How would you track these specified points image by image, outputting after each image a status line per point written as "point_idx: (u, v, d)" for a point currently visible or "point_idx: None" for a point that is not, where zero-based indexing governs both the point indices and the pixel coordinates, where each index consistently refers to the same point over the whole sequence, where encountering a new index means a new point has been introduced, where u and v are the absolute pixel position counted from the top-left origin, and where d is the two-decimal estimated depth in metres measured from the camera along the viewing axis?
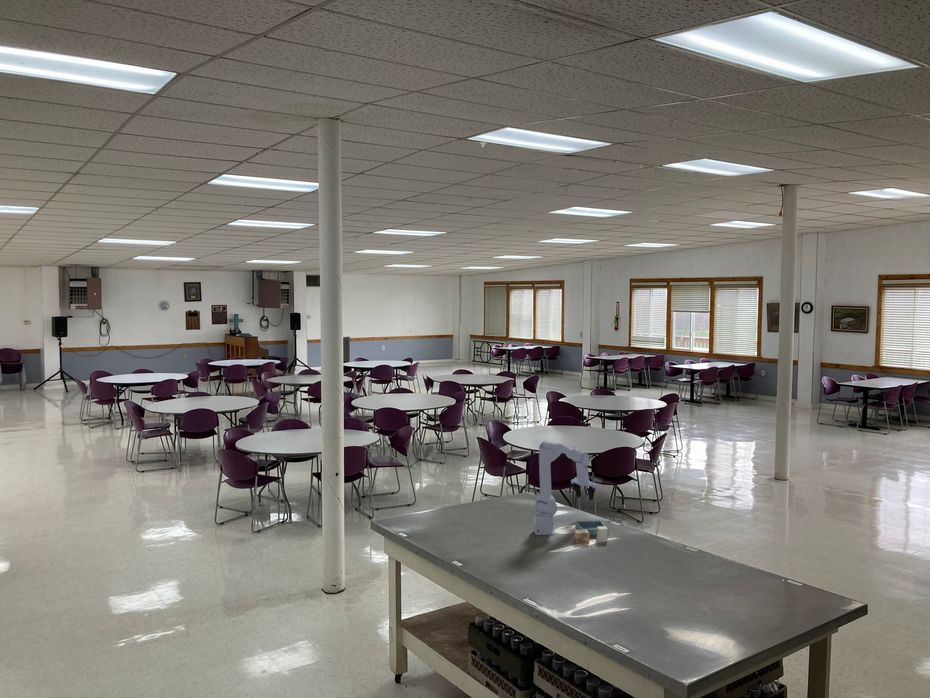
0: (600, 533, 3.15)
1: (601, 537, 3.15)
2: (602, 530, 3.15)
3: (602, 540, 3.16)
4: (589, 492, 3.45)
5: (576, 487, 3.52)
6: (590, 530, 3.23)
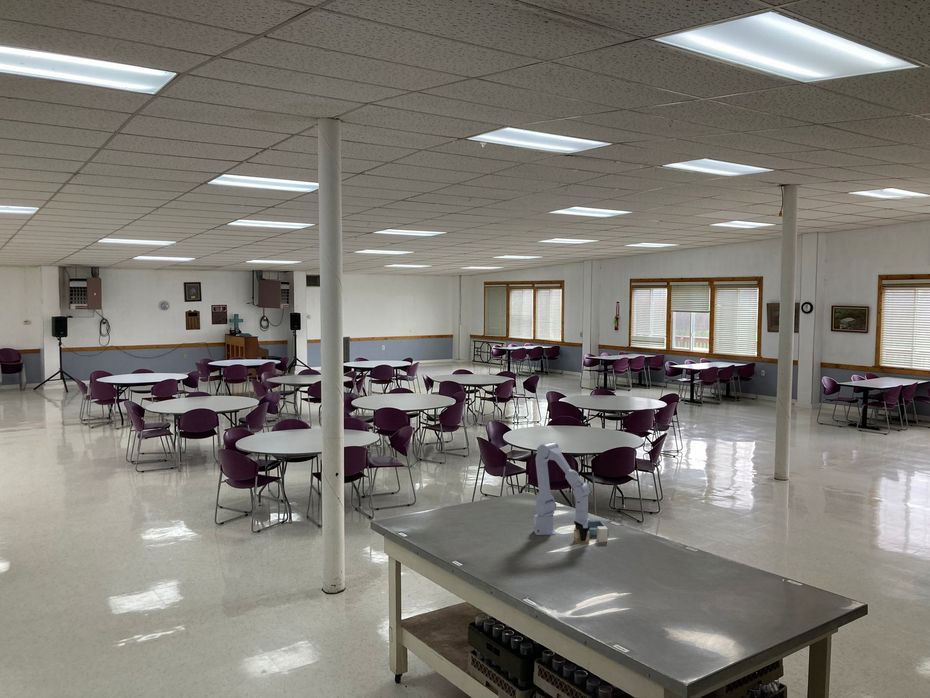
0: (600, 533, 3.15)
1: (601, 537, 3.15)
2: (602, 530, 3.15)
3: (602, 540, 3.16)
4: (579, 530, 3.12)
5: (577, 524, 3.18)
6: (590, 530, 3.23)
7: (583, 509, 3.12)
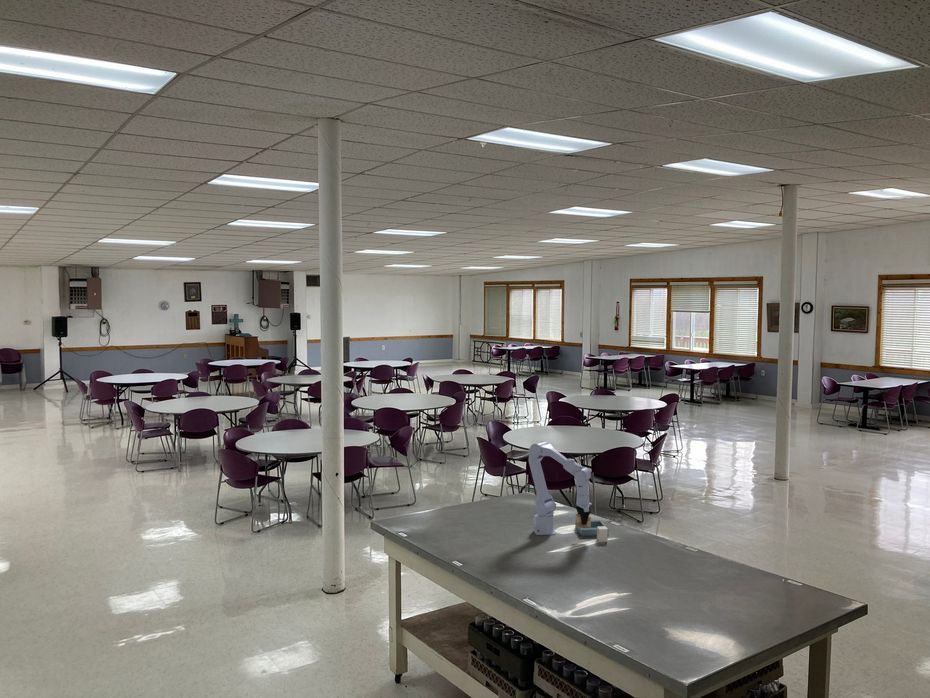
0: (600, 533, 3.15)
1: (601, 537, 3.15)
2: (602, 530, 3.15)
3: (602, 540, 3.16)
4: (580, 514, 3.13)
5: (578, 508, 3.20)
6: (590, 530, 3.23)
7: (585, 493, 3.14)
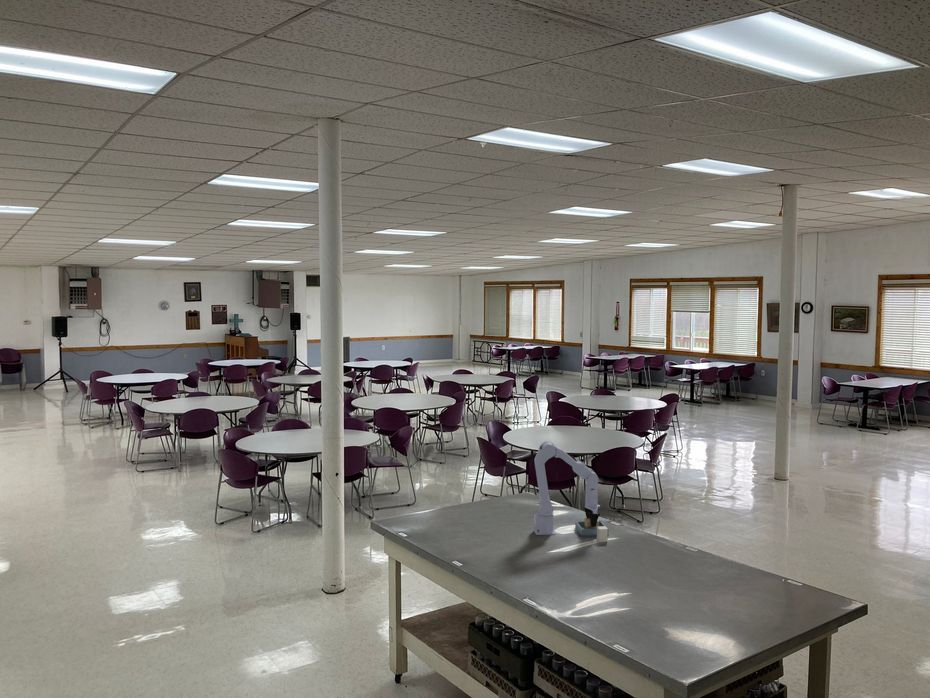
0: (600, 533, 3.15)
1: (601, 537, 3.15)
2: (602, 530, 3.15)
3: (602, 540, 3.16)
4: (589, 516, 3.24)
5: (586, 509, 3.33)
6: (590, 530, 3.23)
7: (596, 495, 3.27)
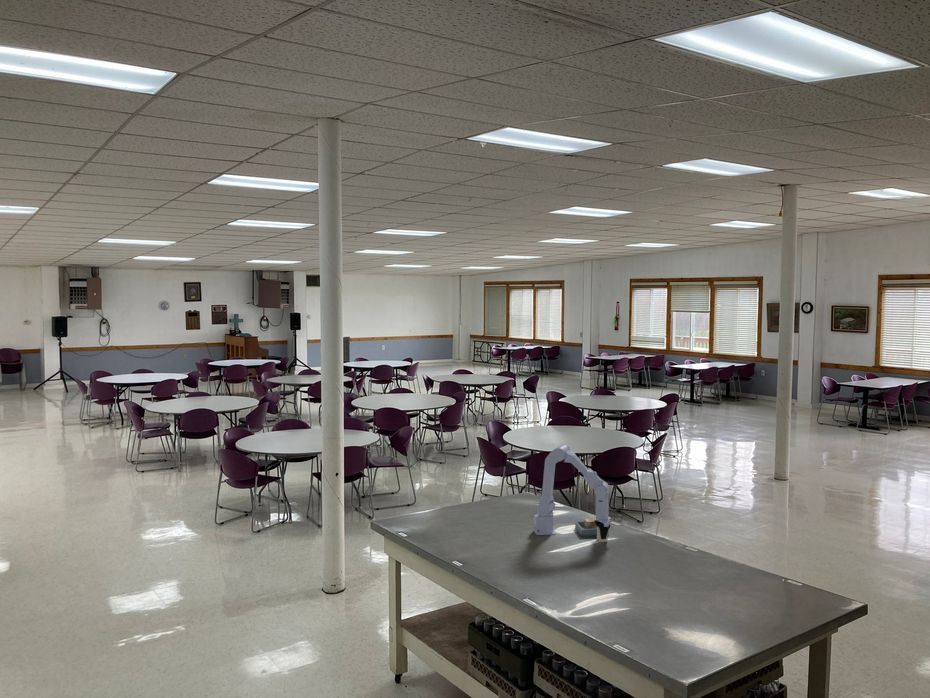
0: None
1: None
2: None
3: (602, 540, 3.16)
4: (599, 528, 3.14)
5: (597, 523, 3.19)
6: (590, 530, 3.23)
7: (605, 508, 3.14)
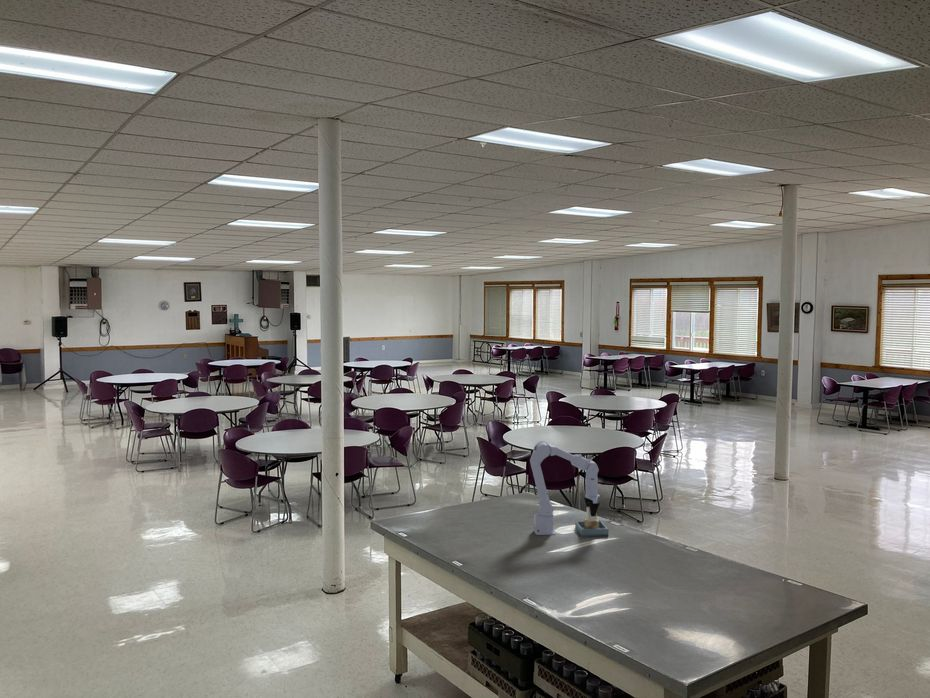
0: (589, 512, 3.27)
1: (590, 517, 3.27)
2: None
3: (591, 519, 3.27)
4: (589, 506, 3.24)
5: (586, 500, 3.32)
6: (590, 530, 3.23)
7: (596, 485, 3.26)
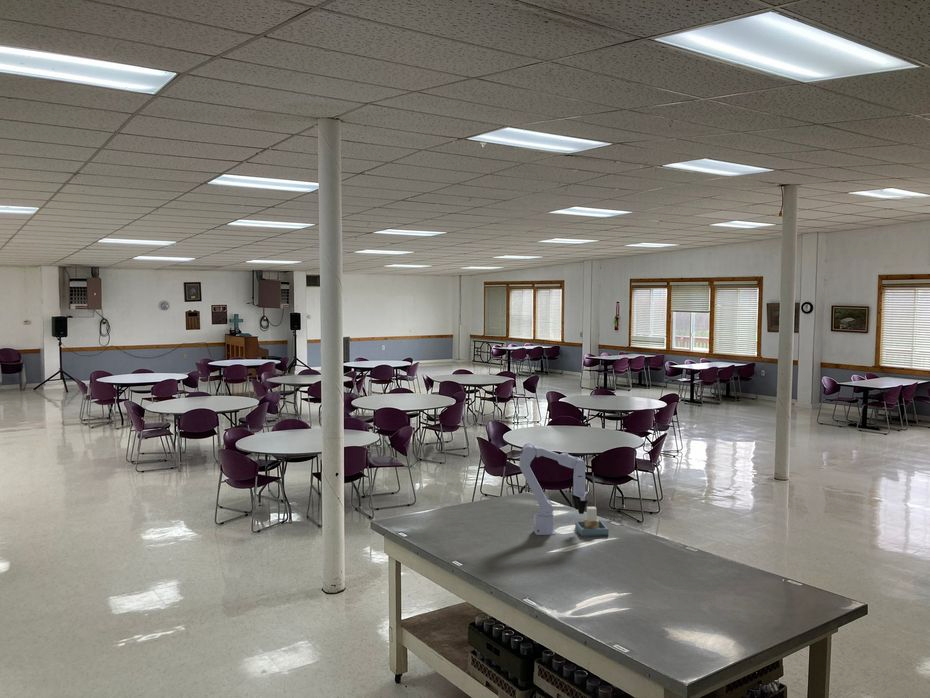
0: (589, 512, 3.27)
1: (590, 517, 3.27)
2: (591, 510, 3.27)
3: (591, 519, 3.27)
4: (577, 503, 3.23)
5: (574, 497, 3.32)
6: (590, 530, 3.23)
7: (584, 482, 3.26)
